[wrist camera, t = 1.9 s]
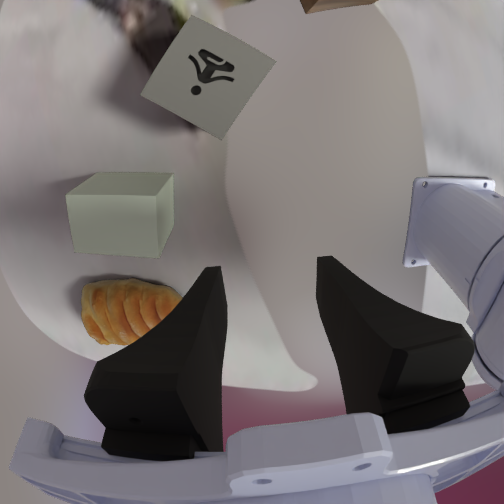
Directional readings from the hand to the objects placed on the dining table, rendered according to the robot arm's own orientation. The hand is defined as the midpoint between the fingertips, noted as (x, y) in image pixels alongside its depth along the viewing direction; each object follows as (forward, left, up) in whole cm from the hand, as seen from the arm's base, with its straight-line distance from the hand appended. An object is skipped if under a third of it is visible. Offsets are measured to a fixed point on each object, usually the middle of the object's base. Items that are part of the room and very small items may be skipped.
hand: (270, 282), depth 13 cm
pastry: (+12, +8, -11) cm, 18 cm away
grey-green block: (+9, -1, -10) cm, 14 cm away
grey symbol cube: (+2, -9, -11) cm, 14 cm away
